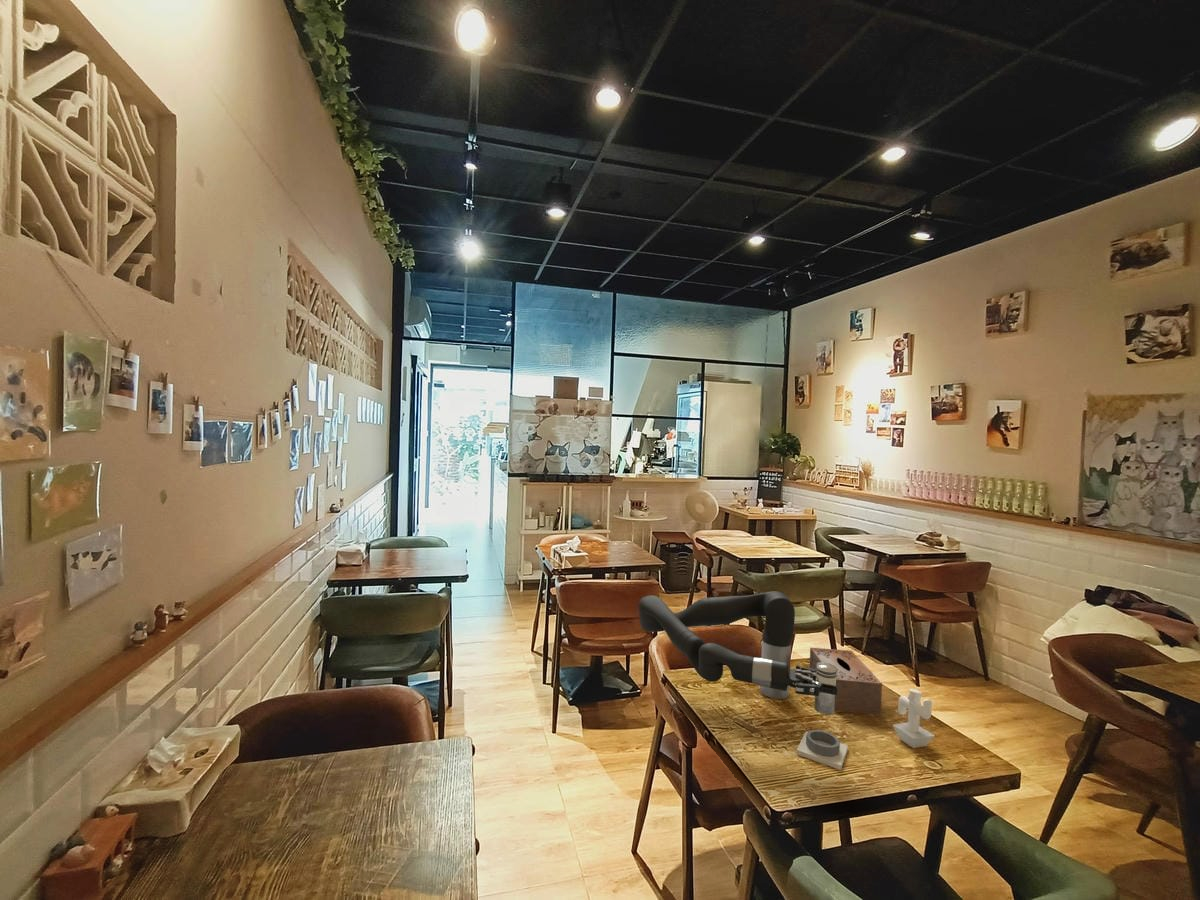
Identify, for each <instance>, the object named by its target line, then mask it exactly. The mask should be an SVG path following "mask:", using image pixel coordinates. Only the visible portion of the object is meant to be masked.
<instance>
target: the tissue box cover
mask: <svg viewBox="0 0 1200 900" xmlns="http://www.w3.org/2000/svg"><path fill="white" fill-rule="evenodd" d="M819 662H825V663H830V664H832V665H834V666H836V668H837V676H836V686H837V695H835V708H834V711H840V712H851V713H860V714H871V715H880V714H881V715H882V713H881V712H882V695H883V692H882V691H883V683H882V681H880V679H878V678H877V676H876V675H875V674H874V673H873V672H872V671H871V670H870V669H869V668H868V667H867V666H866V664H864V663H863V662H862V660H861V659H860V658H859V657H858V656H857V655H856V654H855V653H854V652H853V650H844V649H836V648H835V649H834V648H833V649H831V648H821V647H820V648H819V647H810V648H809V665H808V666H809V667H808V668H811V669H815V670H816V664H817V663H819Z"/></svg>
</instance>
